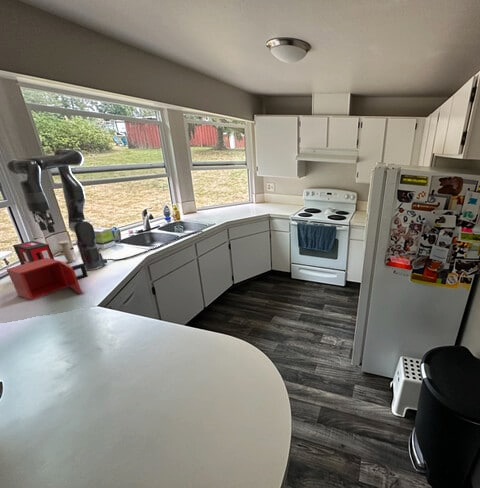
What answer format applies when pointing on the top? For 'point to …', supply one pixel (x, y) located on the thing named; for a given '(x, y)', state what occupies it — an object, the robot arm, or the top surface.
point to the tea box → (104, 237)
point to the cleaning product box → (32, 251)
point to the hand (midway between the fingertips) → (48, 231)
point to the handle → (66, 250)
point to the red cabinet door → (73, 275)
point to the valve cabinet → (38, 278)
